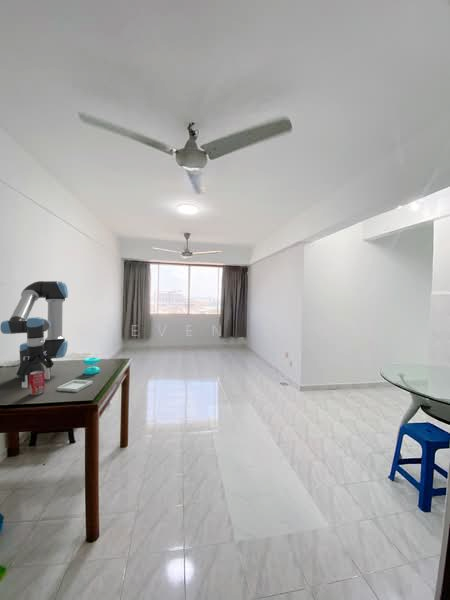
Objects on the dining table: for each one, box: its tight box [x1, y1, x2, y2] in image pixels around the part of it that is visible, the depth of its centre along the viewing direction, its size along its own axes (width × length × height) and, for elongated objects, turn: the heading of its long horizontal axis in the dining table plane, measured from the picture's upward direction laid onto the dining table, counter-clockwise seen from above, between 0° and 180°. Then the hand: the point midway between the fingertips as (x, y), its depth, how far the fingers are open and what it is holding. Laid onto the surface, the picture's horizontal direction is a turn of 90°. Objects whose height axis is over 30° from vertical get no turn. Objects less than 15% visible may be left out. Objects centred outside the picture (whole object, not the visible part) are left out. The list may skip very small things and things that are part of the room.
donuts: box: [82, 356, 101, 376], centre depth 176 cm, size 10×10×10 cm
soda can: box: [28, 371, 46, 396], centre depth 140 cm, size 7×7×12 cm
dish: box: [56, 379, 94, 393], centre depth 150 cm, size 13×13×2 cm
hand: (36, 383), depth 140 cm, fingers open, 13 cm apart
